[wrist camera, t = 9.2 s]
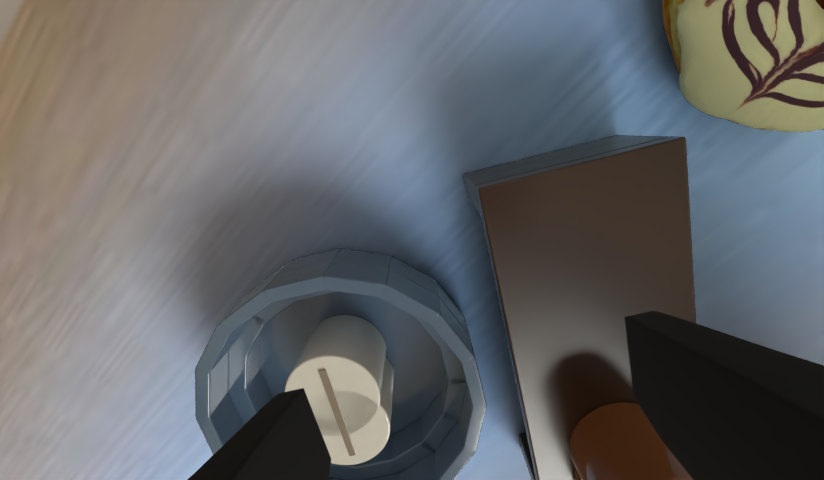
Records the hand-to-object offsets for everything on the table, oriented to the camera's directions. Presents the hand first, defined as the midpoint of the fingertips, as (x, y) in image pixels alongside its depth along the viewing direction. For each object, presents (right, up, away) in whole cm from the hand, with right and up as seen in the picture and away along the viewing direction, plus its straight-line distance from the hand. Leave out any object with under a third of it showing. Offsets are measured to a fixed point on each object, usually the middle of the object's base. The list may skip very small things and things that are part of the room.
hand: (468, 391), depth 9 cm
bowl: (-4, -3, +12) cm, 13 cm away
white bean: (-4, -3, +11) cm, 12 cm away
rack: (+6, 0, +11) cm, 13 cm away
